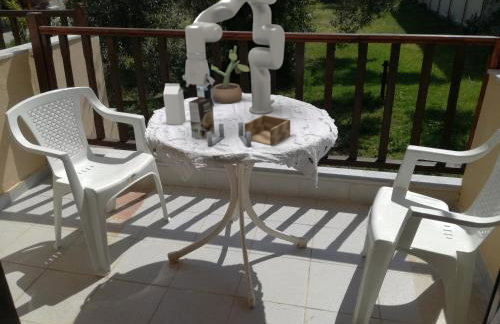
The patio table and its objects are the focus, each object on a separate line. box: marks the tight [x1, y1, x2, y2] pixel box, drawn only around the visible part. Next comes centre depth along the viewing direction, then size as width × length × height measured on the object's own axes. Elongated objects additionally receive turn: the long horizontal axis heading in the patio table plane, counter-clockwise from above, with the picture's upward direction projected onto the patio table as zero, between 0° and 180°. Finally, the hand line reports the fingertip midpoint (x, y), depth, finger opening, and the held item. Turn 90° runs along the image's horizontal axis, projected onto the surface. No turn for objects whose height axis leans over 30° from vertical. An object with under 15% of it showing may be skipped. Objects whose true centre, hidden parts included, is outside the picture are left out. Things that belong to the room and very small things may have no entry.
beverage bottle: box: [196, 68, 215, 106], centre depth 223 cm, size 8×8×20 cm
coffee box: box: [188, 97, 216, 140], centre depth 185 cm, size 9×6×16 cm
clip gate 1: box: [206, 123, 225, 148], centre depth 179 cm, size 12×2×6 cm, turn 155°
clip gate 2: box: [237, 121, 252, 148], centre depth 179 cm, size 2×14×6 cm, turn 17°
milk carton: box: [162, 83, 187, 126], centre depth 201 cm, size 7×7×19 cm
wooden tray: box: [243, 114, 291, 147], centre depth 181 cm, size 14×14×7 cm
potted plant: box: [210, 45, 251, 104], centre depth 229 cm, size 22×18×30 cm
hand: (199, 97), depth 181 cm, fingers open, 9 cm apart
